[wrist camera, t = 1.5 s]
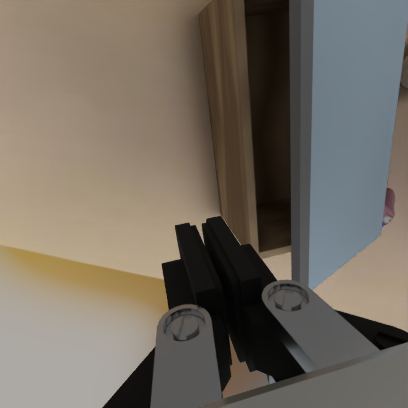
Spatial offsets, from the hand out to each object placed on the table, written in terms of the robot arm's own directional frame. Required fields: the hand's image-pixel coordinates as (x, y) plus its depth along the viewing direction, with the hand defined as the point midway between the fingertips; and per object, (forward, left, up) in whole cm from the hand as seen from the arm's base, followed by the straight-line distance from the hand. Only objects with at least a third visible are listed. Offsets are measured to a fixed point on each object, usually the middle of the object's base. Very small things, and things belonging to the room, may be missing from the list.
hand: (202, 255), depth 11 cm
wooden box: (-14, 0, -27) cm, 31 cm away
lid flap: (-15, 0, -12) cm, 19 cm away
